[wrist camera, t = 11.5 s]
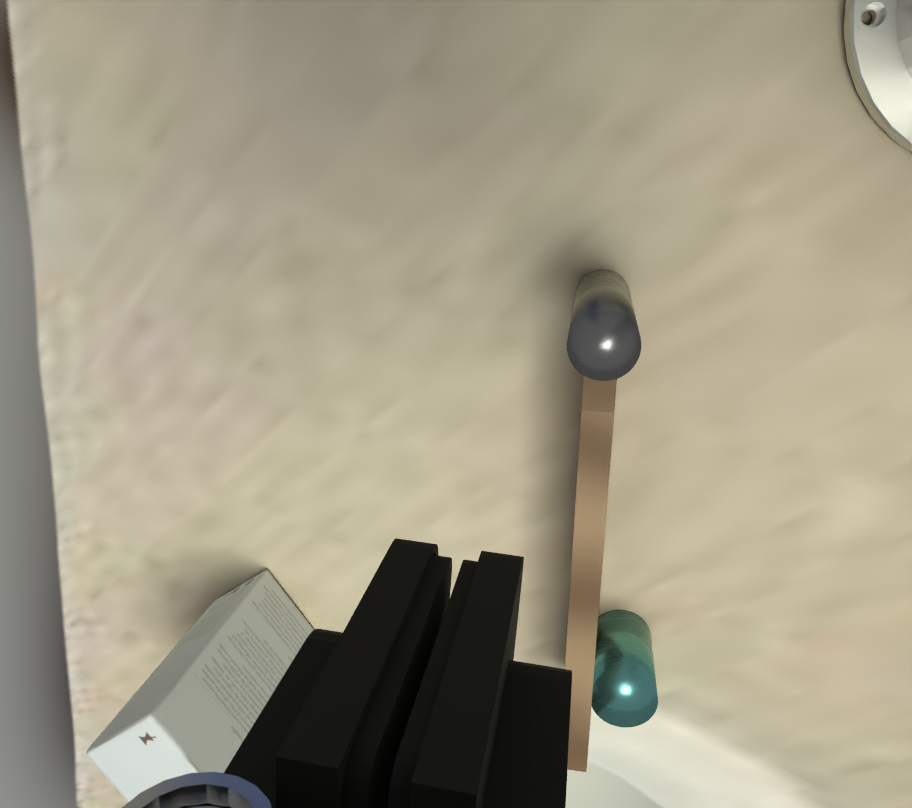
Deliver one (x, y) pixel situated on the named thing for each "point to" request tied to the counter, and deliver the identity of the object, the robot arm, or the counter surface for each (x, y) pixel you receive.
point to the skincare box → (204, 690)
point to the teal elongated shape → (618, 632)
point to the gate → (588, 558)
